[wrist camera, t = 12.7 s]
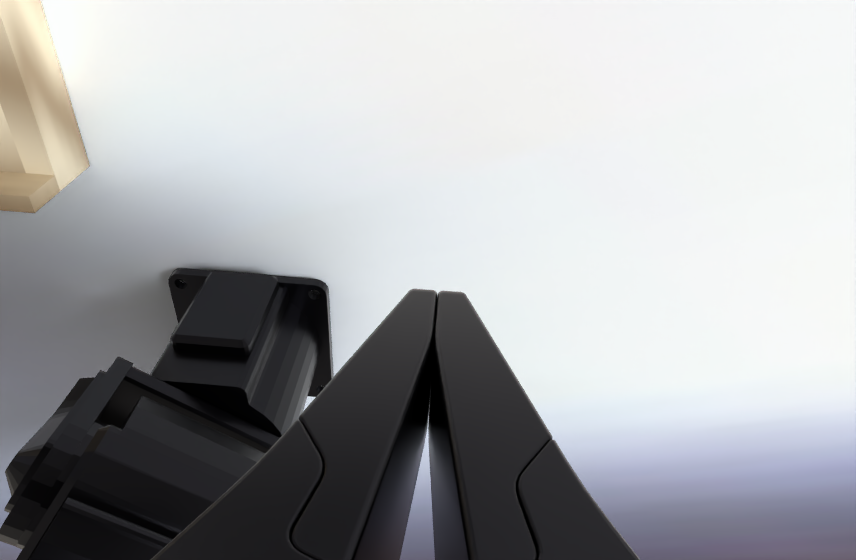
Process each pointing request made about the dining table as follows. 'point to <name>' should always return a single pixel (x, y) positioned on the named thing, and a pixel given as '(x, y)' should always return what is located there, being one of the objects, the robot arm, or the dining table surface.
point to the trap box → (33, 112)
